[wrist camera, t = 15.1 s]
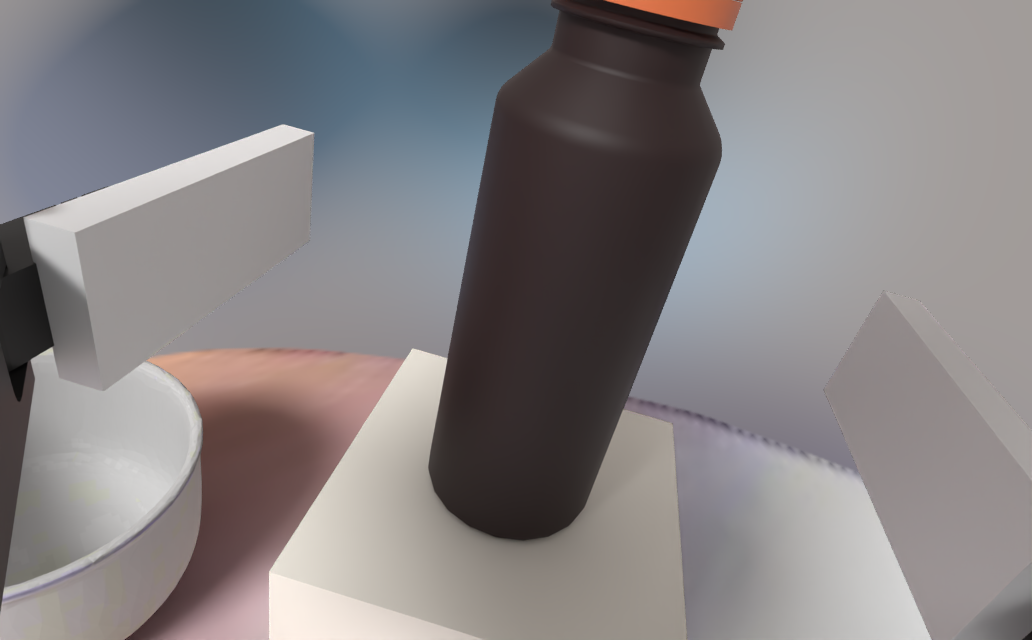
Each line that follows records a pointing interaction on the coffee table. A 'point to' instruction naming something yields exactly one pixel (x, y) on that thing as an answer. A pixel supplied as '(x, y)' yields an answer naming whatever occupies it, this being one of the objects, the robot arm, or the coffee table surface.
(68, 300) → the robot arm
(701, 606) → the coffee table surface
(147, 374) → the teacup
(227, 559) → the coffee table surface
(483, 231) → the vinegar
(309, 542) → the riser
